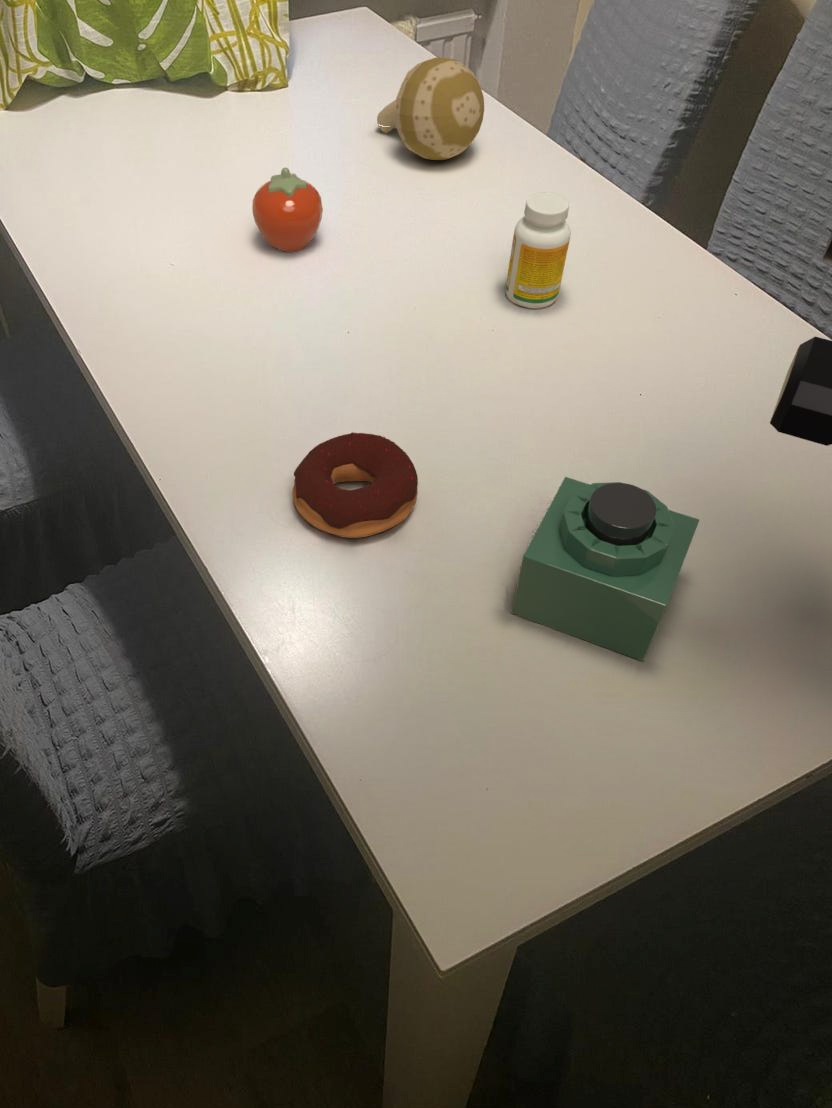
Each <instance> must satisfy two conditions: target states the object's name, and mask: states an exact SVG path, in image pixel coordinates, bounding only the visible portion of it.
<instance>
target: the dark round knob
mask: <svg viewBox="0 0 832 1108" xmlns="http://www.w3.org/2000/svg"><path fill="white" fill-rule="evenodd" d="M608 483H609V482H608ZM642 489H643V488H641V487H638V486H637V485H634V484H631V483H626V482H622V483H621V482H620V483H609V484H605V485H603V486H601V487H599V488H597V489H596V490H595V491H594V492H593V494H592V495H591V498H590V502H589V505H588V509H587V513H586V517H585V522H586V526H587V528H588V530H589V531H590V532H591V533H592V534H593V535H594V536H595V537H597V538H598V539H599V540H602V541H605V542H608V543H611V544H614V545H617V546H624V545H635V544H638V543H640V542H642V541H643V540H644V539H645V538H646V537H647V536H648V534H649V532H650V529H651V526H652V524H653V521H654V518H655V515H656V504H655V502H654V500H653V498H652V497H651V496H650V495H649V494H648V493H647V492H645V491H644V490H645V489H644V490H642Z"/></svg>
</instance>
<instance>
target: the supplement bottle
mask: <svg viewBox="0 0 832 1108" xmlns="http://www.w3.org/2000/svg"><path fill="white" fill-rule="evenodd" d="M569 210H570V201H569V200H568V199H567V198H566V197H565V196H564V195H561V194H559V193H555V192H549V191H548V192H547V191H546V192H545V191H544V192H537V193H533V194H531V195H530V196H528V197H527V199H526V202H525V206H524V210H523V211H524V212H523V215H524V216H522V217H521V218H520V219H519V220H518V221H517V222H516V224H515V227H514V232H513V237H512V241H511V242H512V243H511V250H510V255H509V263H508V269H507V276H506V284H505V294H506V296H507V298H508V299H509V300H510V301H511V302H512V303H514V304H515V305H518V306H520V307H524V308H527V309H542V308H546V307H549V306H551V305H552V304H554V303H555V302H556V300H557V299H558V298H559V294H560V289H561V285H562V279H563V274H564V270H565V265H566V259H567V256H568V255H567V254H568V250H569V246H570V241H571V236H572V235H571V227H570V224H568V222H567V221H566V220H567V219H568V216H569Z"/></svg>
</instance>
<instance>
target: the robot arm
mask: <svg viewBox="0 0 832 1108" xmlns="http://www.w3.org/2000/svg"><path fill="white" fill-rule="evenodd" d="M821 261H822V262H828V263H832V232H830V235H829V238H828V240H827V243H826V246H825V248H824V250H823V253H822V257H821ZM769 424H770V425H771V426H772V427H773V428H774V429H775V430H776V431H777V433H780V434H785V435H787V436H791V437H795V438H798V439H801V440H805V441H808V442H812V443H815V444H818V445H822V446H826V447H829V446H831V445H832V340H830V339H826V338H823V337H818V336H813V337H811V338H810V339H808V340H806V341H804V342H803V343H801V344H800V345H798V347H797V349H796V352H795V354H794V355H793V358H792V361H791V363H790V365H789V367H788V370H787V372H786V375H785V378H784V381H783V383H782V387H781V389H780V392H779V396H778V398H777V401H776V405H775V406H774V410H773V413H772V415H771V418H770V422H769Z"/></svg>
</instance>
